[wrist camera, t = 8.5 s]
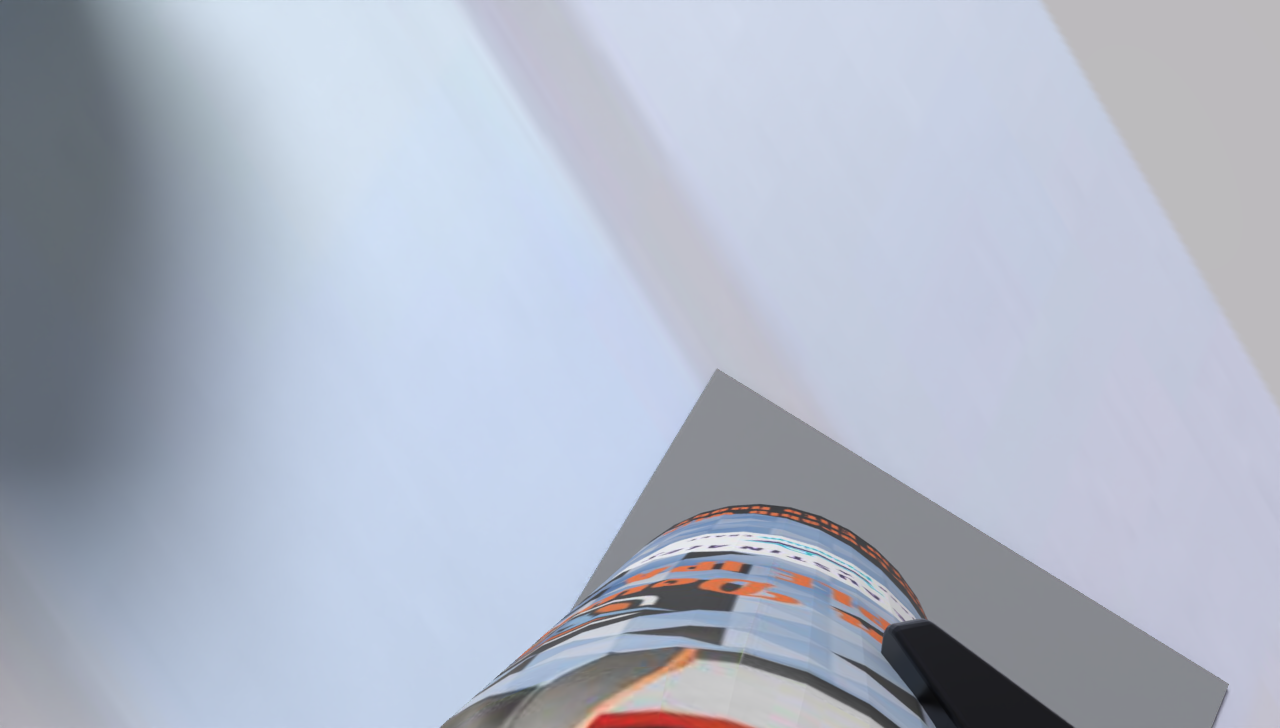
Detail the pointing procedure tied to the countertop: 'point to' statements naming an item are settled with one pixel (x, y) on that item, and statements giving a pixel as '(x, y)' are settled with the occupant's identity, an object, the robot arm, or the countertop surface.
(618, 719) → the beverage can
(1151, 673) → the tile
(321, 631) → the countertop surface
